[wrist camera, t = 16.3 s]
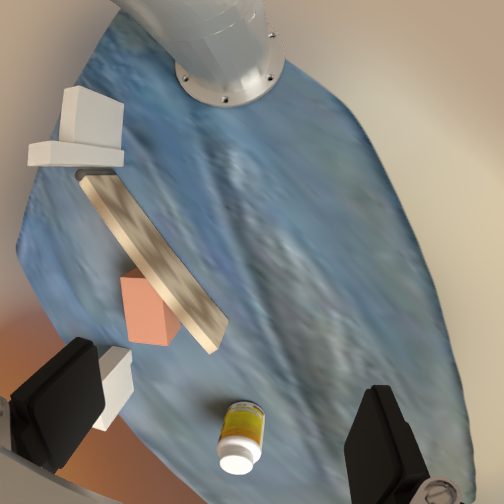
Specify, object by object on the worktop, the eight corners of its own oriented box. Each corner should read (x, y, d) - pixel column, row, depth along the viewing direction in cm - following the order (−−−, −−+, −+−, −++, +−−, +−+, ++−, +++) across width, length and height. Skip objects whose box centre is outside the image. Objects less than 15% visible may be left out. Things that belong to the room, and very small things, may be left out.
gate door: (105, 174, 36) (73, 174, 29) (112, 168, 36) (80, 167, 29) (221, 326, 39) (209, 354, 32) (229, 321, 38) (218, 348, 32)
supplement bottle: (223, 400, 41) (208, 450, 32) (263, 398, 41) (256, 451, 31) (229, 427, 43) (217, 477, 33) (267, 427, 42) (261, 478, 32)
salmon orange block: (138, 266, 39) (120, 277, 34) (175, 267, 38) (160, 279, 33) (145, 324, 40) (129, 341, 35) (180, 328, 40) (167, 346, 35)
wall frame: (107, 106, 35) (36, 81, 21) (127, 103, 34) (59, 75, 21) (119, 387, 43) (75, 444, 30) (136, 391, 43) (95, 451, 29)
